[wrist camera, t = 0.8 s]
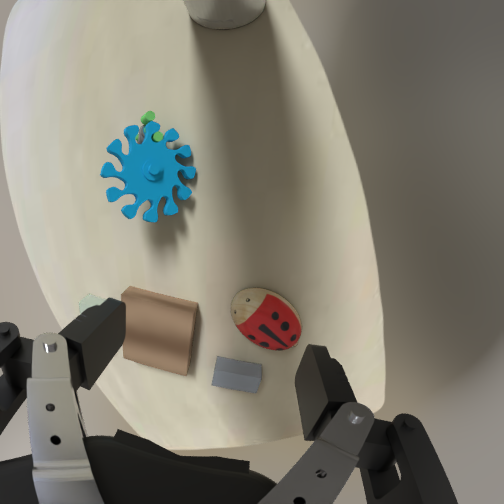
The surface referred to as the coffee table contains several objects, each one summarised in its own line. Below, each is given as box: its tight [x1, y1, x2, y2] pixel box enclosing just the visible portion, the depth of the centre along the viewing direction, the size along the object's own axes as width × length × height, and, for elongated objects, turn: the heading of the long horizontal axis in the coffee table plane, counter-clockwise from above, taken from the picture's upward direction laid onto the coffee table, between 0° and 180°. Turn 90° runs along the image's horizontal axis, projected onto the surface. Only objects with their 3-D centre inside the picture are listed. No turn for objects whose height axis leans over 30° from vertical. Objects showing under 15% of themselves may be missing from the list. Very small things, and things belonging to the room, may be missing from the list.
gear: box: [100, 111, 196, 222], centre depth 25 cm, size 11×6×10 cm
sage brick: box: [79, 294, 107, 315], centre depth 31 cm, size 6×3×3 cm, turn 168°
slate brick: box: [212, 356, 262, 393], centre depth 33 cm, size 6×3×3 cm, turn 77°
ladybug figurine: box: [231, 288, 302, 351], centre depth 31 cm, size 7×10×4 cm
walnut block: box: [121, 286, 198, 376], centre depth 32 cm, size 10×9×3 cm
